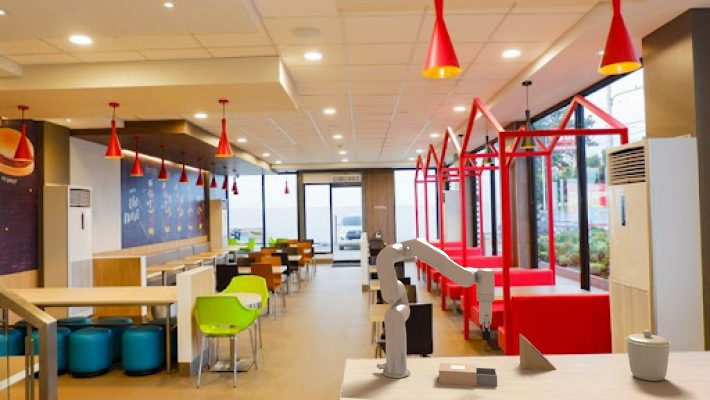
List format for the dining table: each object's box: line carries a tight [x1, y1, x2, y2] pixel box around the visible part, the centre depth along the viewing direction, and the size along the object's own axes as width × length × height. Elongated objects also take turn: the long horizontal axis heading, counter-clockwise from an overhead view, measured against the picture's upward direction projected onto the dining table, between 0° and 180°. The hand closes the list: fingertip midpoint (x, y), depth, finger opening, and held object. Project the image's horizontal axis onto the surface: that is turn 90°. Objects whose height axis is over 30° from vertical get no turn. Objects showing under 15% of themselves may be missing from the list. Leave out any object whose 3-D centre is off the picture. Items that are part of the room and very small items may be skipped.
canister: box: [624, 329, 672, 382], centre depth 229 cm, size 18×18×21 cm
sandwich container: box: [519, 333, 557, 371], centre depth 246 cm, size 9×15×15 cm, turn 85°
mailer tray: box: [476, 367, 498, 387], centre depth 226 cm, size 15×9×4 cm, turn 78°
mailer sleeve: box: [438, 362, 478, 386], centre depth 228 cm, size 16×11×6 cm
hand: (486, 338), depth 225 cm, fingers open, 2 cm apart
